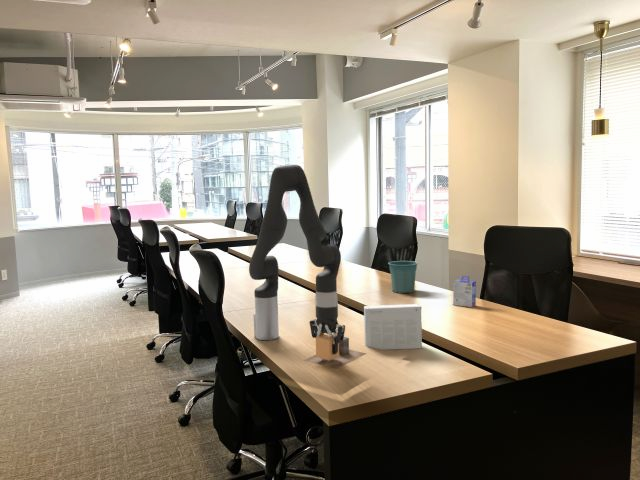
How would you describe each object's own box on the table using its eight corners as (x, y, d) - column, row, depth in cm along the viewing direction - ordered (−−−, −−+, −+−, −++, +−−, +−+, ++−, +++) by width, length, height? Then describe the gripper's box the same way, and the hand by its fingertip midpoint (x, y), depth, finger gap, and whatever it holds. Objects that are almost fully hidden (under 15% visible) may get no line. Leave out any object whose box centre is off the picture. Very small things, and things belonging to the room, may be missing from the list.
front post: (321, 360, 174) (321, 345, 173) (327, 358, 176) (326, 343, 175) (328, 362, 172) (328, 346, 171) (333, 360, 174) (333, 344, 173)
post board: (303, 364, 175) (303, 344, 174) (335, 350, 189) (334, 331, 188) (336, 373, 166) (336, 352, 165) (366, 357, 180) (366, 338, 179)
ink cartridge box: (476, 305, 250) (476, 276, 248) (472, 307, 246) (472, 278, 244) (457, 302, 256) (457, 274, 254) (452, 305, 252) (453, 276, 250)
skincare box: (419, 344, 194) (419, 303, 192) (422, 348, 188) (422, 307, 186) (364, 346, 193) (363, 305, 191) (365, 350, 188) (365, 308, 186)
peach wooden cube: (316, 357, 173) (315, 337, 172) (326, 352, 178) (325, 333, 177) (329, 360, 170) (328, 340, 169) (339, 355, 174) (338, 335, 173)
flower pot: (382, 289, 289) (382, 262, 288) (406, 286, 296) (406, 259, 294) (399, 295, 275) (398, 266, 273) (423, 292, 281) (423, 263, 280)
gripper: (303, 303, 173) (304, 351, 175) (337, 309, 164) (338, 359, 166) (316, 298, 179) (318, 345, 181) (350, 304, 170) (351, 353, 172)
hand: (327, 351), depth 173 cm, fingers closed on peach wooden cube, 5 cm apart
